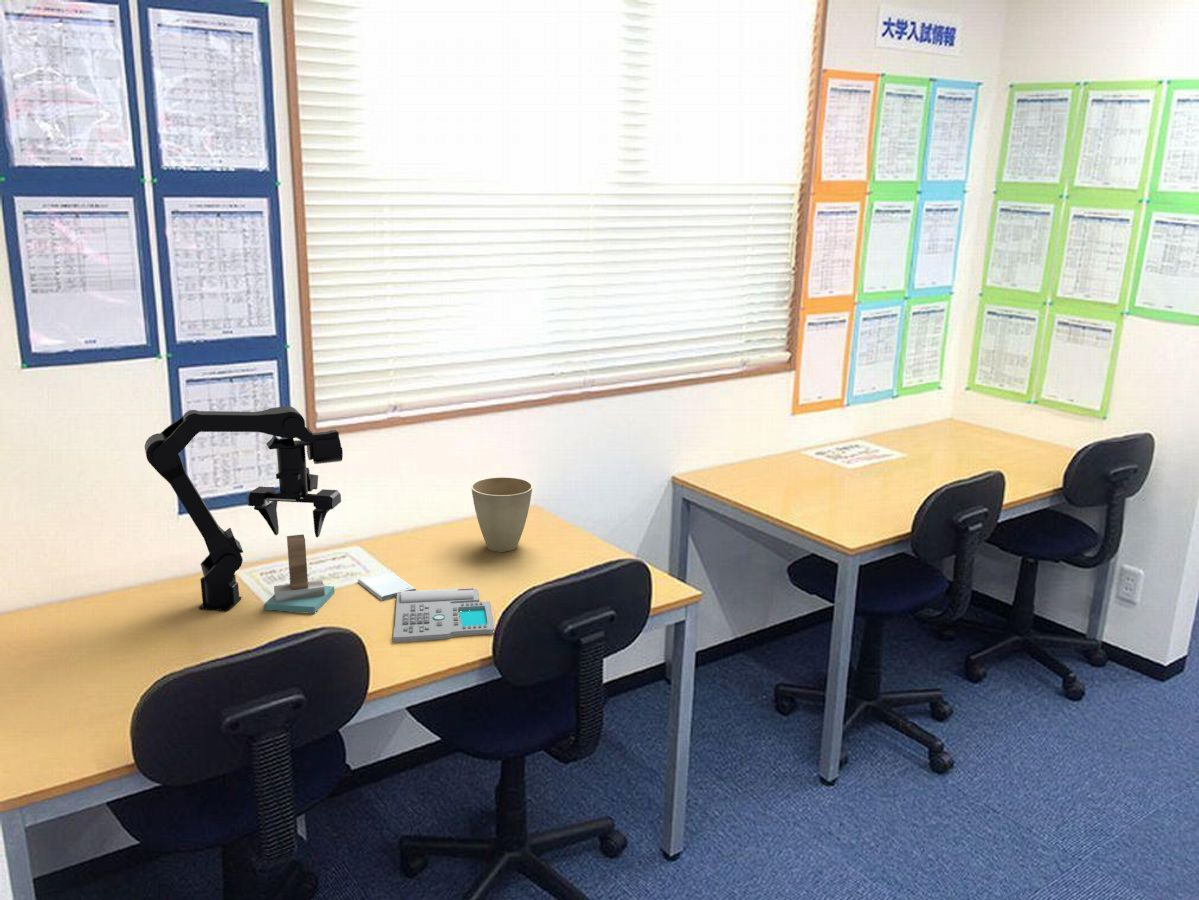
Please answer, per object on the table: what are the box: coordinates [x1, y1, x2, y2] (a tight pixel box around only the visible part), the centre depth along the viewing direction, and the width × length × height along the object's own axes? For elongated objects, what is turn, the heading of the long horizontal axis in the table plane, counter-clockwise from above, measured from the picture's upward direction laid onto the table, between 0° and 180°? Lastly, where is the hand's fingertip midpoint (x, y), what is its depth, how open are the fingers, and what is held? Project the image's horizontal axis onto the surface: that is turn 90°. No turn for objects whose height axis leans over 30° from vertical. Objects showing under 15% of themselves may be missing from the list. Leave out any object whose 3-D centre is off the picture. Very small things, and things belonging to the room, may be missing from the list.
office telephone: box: [392, 587, 495, 643], centre depth 208 cm, size 23×3×20 cm
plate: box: [264, 585, 335, 614], centre depth 213 cm, size 11×11×2 cm
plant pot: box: [470, 476, 533, 553], centre depth 245 cm, size 15×15×16 cm
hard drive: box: [357, 571, 417, 601], centre depth 222 cm, size 2×8×12 cm
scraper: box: [273, 534, 325, 602], centre depth 211 cm, size 4×10×13 cm, turn 111°
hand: (297, 535), depth 215 cm, fingers open, 9 cm apart
